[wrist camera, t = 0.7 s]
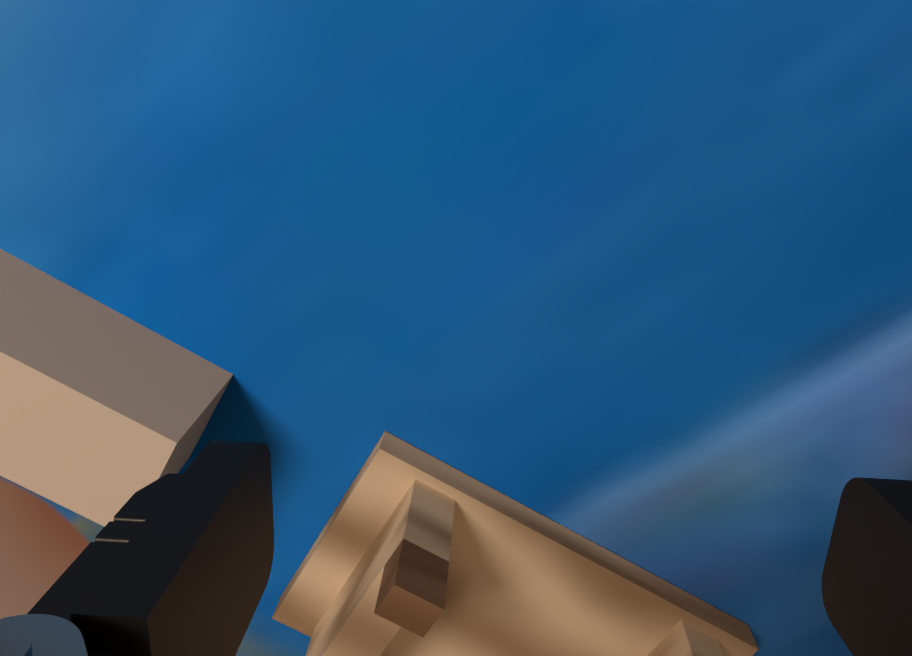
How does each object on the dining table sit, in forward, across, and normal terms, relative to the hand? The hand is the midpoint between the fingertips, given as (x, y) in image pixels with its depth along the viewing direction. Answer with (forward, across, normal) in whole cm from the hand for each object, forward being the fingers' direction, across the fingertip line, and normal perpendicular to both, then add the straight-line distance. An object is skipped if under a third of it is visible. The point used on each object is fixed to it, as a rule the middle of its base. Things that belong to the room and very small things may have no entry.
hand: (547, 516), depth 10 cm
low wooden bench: (+20, -1, +18) cm, 27 cm away
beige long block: (+20, +21, +4) cm, 29 cm away
